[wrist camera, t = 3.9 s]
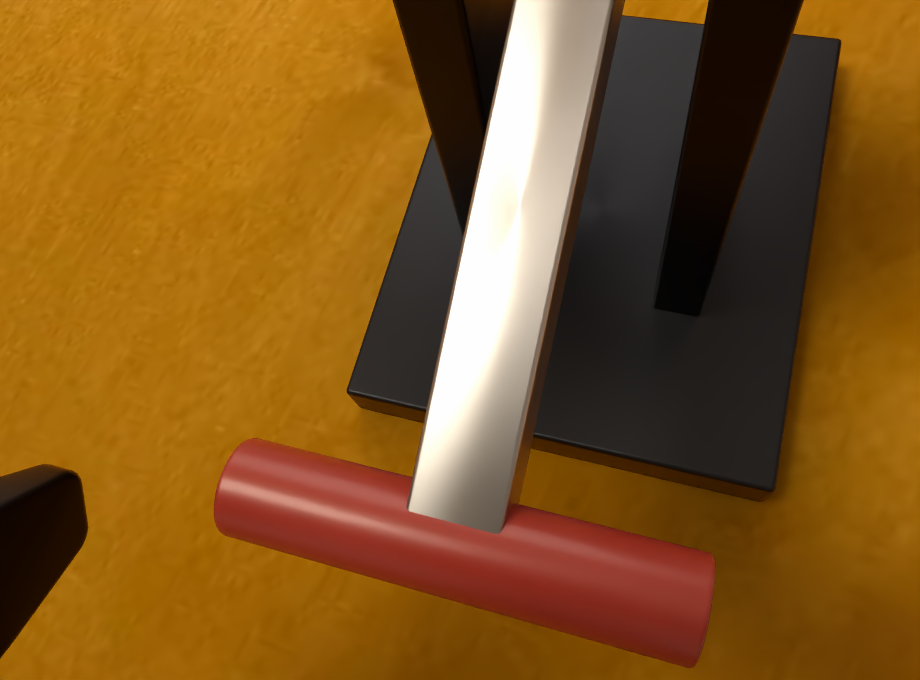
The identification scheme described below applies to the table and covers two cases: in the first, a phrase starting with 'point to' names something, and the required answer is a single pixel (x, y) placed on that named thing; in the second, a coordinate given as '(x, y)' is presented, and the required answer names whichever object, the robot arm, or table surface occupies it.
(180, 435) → the table surface
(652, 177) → the bracket
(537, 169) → the lever
